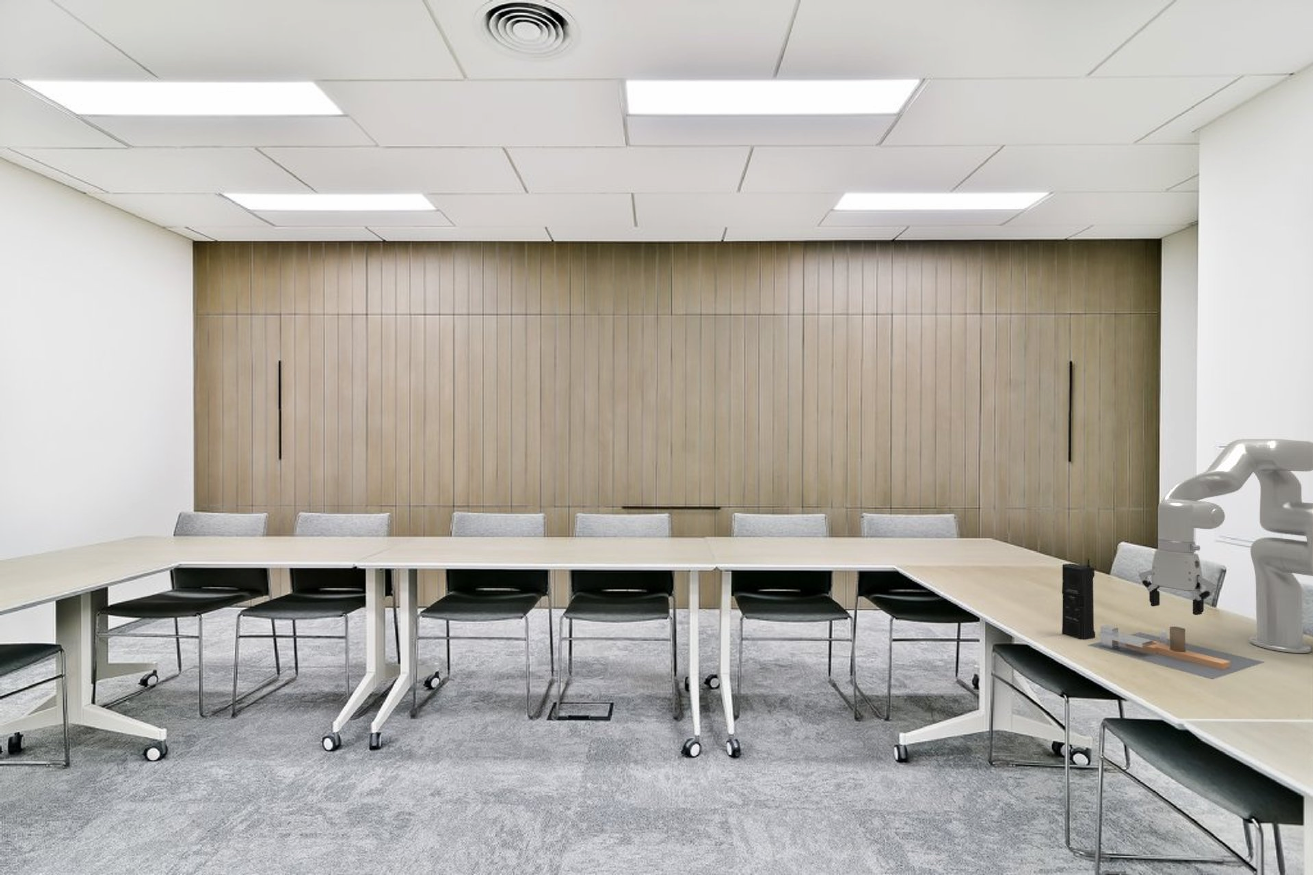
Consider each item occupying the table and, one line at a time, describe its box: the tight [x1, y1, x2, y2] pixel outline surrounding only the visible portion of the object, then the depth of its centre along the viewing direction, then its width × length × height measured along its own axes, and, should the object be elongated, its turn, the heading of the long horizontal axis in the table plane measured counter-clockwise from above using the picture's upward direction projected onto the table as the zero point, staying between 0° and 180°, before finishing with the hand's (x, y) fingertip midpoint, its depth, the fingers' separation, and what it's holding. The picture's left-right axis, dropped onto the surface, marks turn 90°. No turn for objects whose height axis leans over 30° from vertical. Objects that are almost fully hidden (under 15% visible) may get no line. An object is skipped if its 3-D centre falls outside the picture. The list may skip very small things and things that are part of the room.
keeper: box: [1098, 624, 1153, 649], centre depth 173 cm, size 5×11×7 cm, turn 26°
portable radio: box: [1061, 558, 1096, 641], centre depth 187 cm, size 8×6×25 cm
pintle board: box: [1087, 629, 1264, 680], centre depth 171 cm, size 27×29×5 cm
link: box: [1125, 626, 1230, 670], centre depth 169 cm, size 22×7×8 cm, turn 26°
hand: (1175, 609), depth 168 cm, fingers open, 9 cm apart
